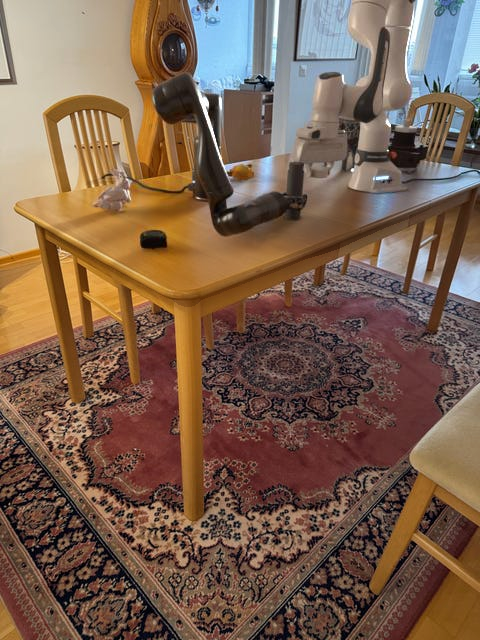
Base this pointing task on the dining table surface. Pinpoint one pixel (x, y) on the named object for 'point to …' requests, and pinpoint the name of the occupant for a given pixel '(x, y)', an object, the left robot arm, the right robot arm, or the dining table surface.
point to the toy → (242, 172)
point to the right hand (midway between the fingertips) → (317, 176)
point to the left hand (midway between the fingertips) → (298, 195)
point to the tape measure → (153, 239)
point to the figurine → (115, 193)
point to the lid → (319, 172)
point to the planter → (349, 138)
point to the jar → (294, 187)
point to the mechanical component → (407, 148)
